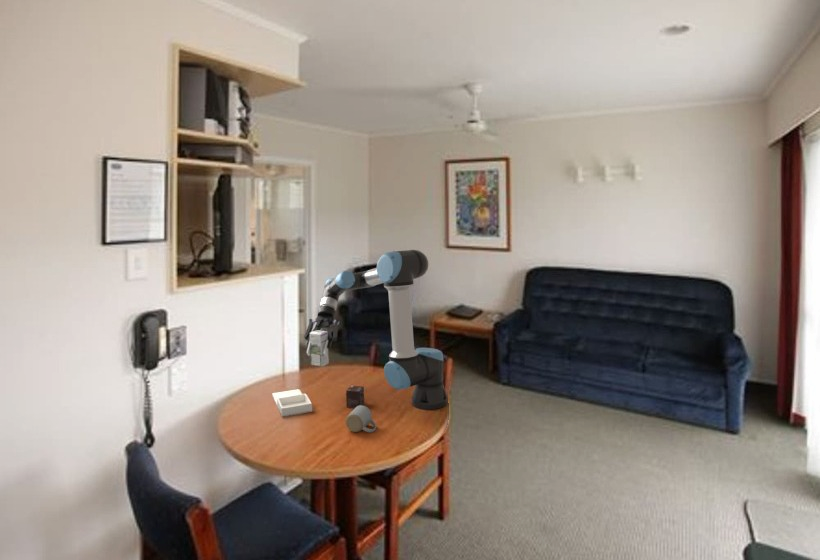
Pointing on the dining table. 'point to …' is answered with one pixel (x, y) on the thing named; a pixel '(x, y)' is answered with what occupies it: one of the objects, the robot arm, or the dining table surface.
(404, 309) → the robot arm
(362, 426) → the ceramic mug
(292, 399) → the mailer
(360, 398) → the box
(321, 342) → the syrup box
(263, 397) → the dining table surface
